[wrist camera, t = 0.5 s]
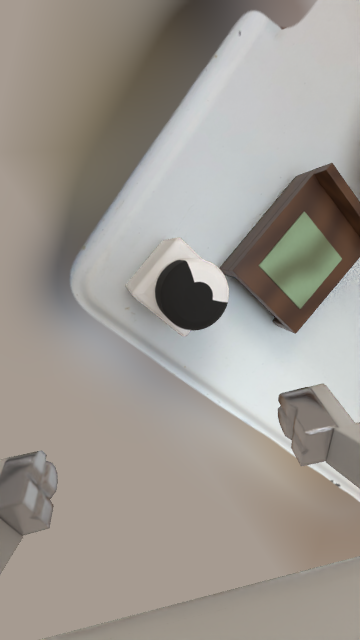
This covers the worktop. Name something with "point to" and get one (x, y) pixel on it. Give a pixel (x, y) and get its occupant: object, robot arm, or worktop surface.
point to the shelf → (300, 247)
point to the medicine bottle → (180, 287)
